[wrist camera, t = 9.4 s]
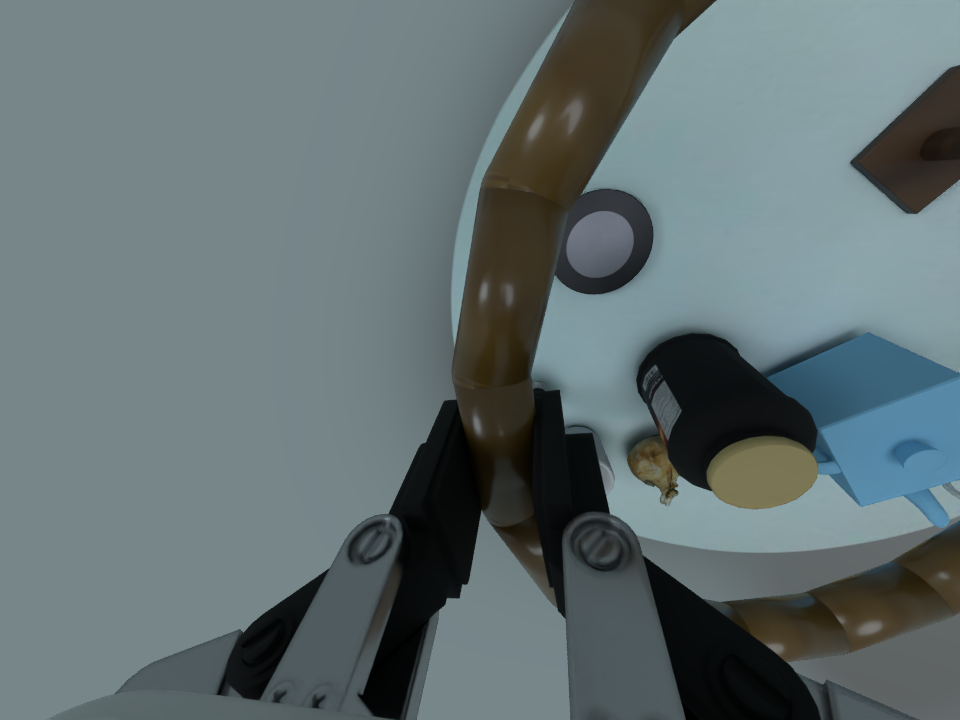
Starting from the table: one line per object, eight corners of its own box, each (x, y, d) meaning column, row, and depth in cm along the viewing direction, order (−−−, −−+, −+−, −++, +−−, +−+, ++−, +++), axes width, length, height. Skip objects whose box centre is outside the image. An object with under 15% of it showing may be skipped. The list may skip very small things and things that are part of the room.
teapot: (732, 383, 43) (801, 454, 32) (884, 313, 37) (1038, 371, 25) (787, 472, 48) (864, 562, 36) (929, 425, 41) (1076, 515, 30)
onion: (694, 442, 48) (720, 486, 41) (650, 472, 51) (667, 518, 44) (654, 413, 47) (674, 454, 40) (612, 447, 50) (623, 489, 43)
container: (706, 417, 46) (794, 541, 30) (618, 398, 46) (658, 508, 31) (756, 338, 40) (897, 438, 24) (654, 317, 41) (726, 401, 25)
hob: (528, 257, 40) (528, 259, 38) (592, 166, 35) (594, 165, 33) (601, 309, 41) (603, 312, 40) (673, 229, 36) (678, 230, 35)
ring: (312, 506, 11) (283, 563, 9) (1019, -861, 5) (1424, -1634, 3) (806, 674, 17) (852, 729, 15) (1384, 188, 11) (1582, 177, 9)
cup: (525, 428, 51) (523, 466, 44) (565, 397, 48) (569, 434, 41) (574, 468, 53) (580, 511, 46) (616, 442, 50) (628, 484, 43)
